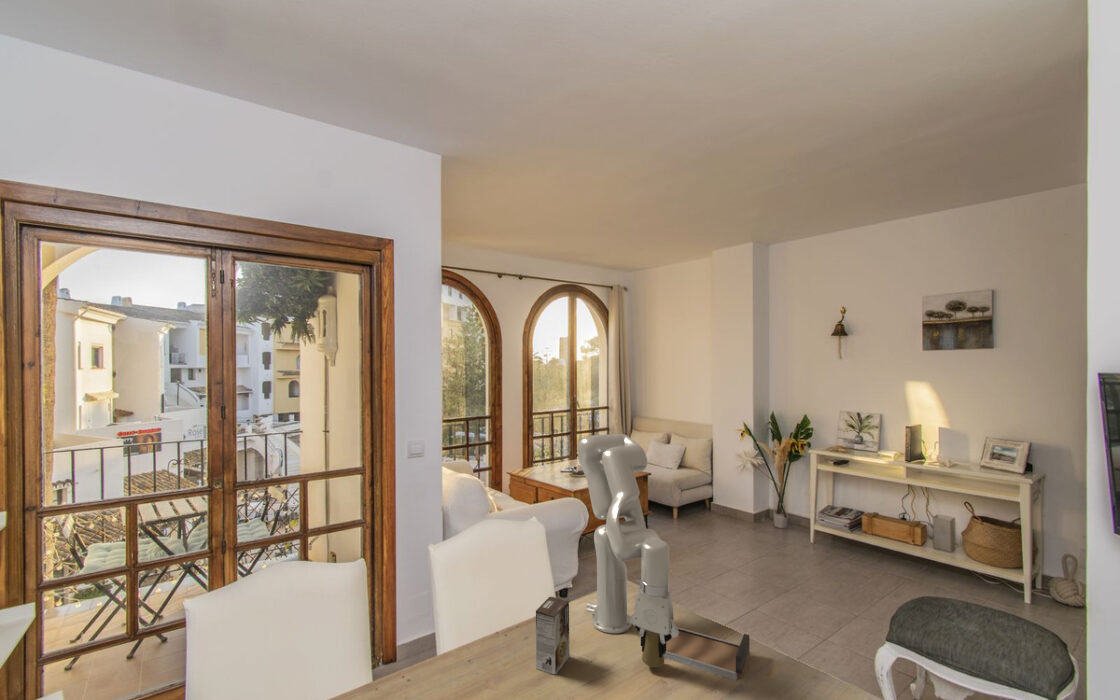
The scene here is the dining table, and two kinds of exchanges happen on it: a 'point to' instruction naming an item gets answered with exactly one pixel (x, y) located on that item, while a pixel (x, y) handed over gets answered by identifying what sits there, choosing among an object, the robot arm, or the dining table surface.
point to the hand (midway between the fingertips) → (653, 651)
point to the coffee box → (552, 635)
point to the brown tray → (711, 651)
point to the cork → (652, 650)
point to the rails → (698, 663)
